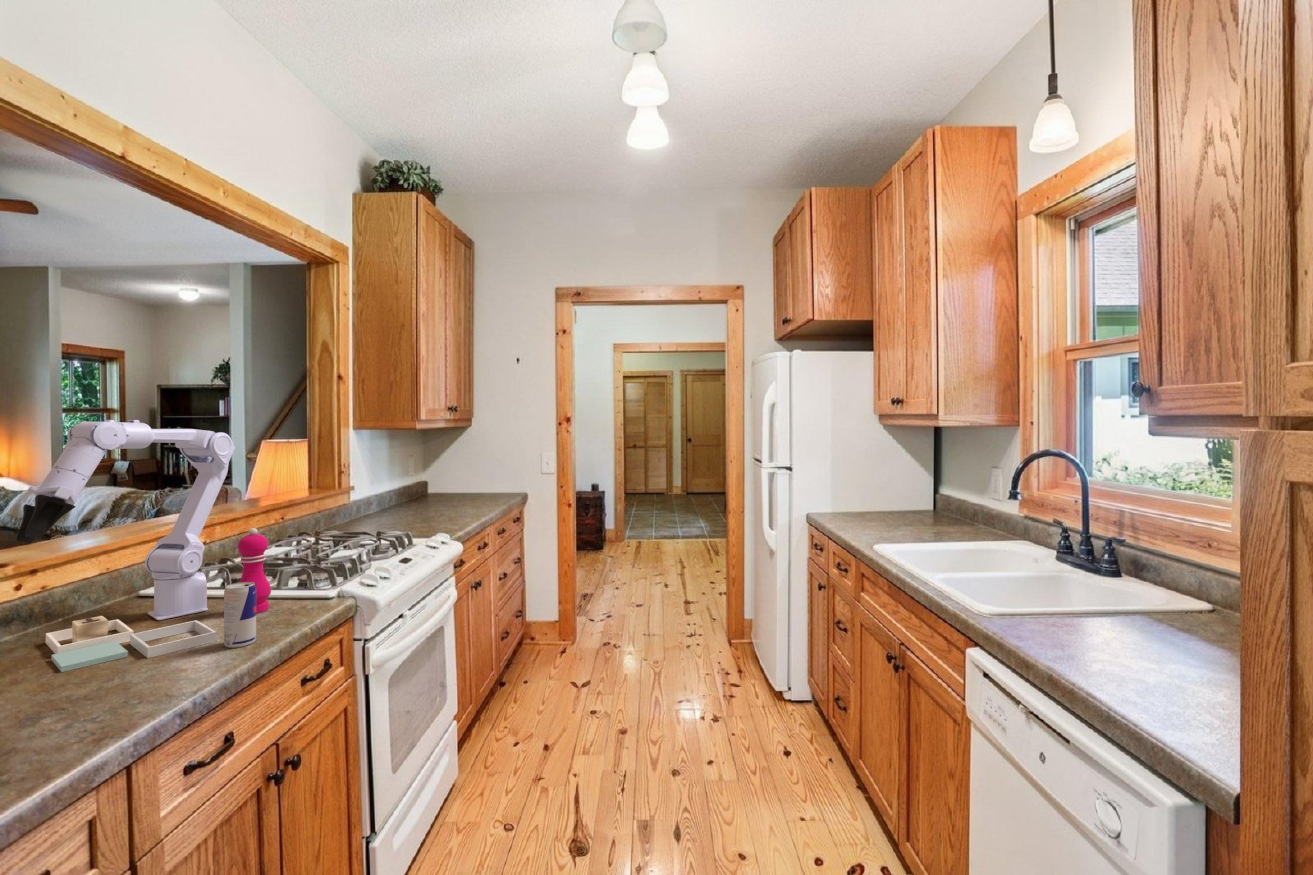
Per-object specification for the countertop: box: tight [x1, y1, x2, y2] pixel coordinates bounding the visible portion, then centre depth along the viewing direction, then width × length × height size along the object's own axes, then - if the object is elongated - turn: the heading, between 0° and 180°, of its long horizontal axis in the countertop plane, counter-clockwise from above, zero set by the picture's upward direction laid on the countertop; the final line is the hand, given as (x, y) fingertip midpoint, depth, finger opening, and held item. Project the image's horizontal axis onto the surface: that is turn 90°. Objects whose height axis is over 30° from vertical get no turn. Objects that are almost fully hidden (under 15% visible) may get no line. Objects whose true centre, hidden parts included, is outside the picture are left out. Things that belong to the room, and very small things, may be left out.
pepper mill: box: [237, 527, 272, 614], centre depth 139 cm, size 7×7×20 cm
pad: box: [51, 641, 129, 673], centre depth 110 cm, size 9×9×1 cm
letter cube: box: [71, 615, 109, 643], centre depth 118 cm, size 4×4×5 cm
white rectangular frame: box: [129, 619, 218, 659], centre depth 118 cm, size 11×12×2 cm
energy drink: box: [223, 582, 257, 649], centre depth 118 cm, size 5×5×12 cm
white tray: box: [45, 619, 135, 654], centre depth 118 cm, size 11×12×2 cm
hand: (27, 539), depth 108 cm, fingers open, 7 cm apart
